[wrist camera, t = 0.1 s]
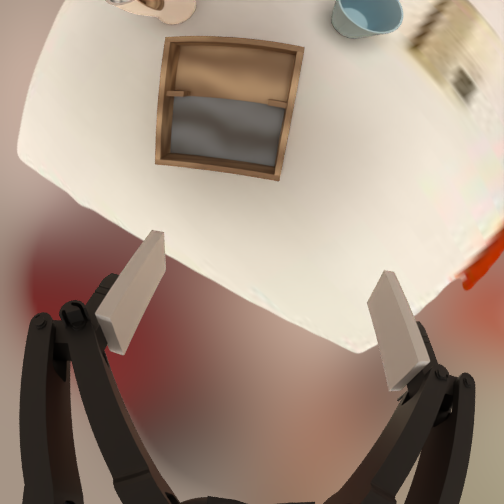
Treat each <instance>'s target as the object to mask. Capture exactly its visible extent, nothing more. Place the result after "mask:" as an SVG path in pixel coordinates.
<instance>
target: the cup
mask: <svg viewBox="0 0 504 504" xmlns="http://www.w3.org/2000/svg"><path fill="white" fill-rule="evenodd" d="M402 20H403V10H402V6H401V4H400V2H399V0H336V3H335V6H334V10H333V13H332V24H333V26H334V28H335V29H336V30H337V31H338V32H339V33H340V34H341V35H343V36H345V37H348V38H362V37H367V36H373V35H379V34H386V33H390V32H393V31H395V30H396V29H398V28H399V26H400V25H401V23H402Z"/></svg>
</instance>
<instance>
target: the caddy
mask: <svg viewBox="0 0 504 504" xmlns="http://www.w3.org/2000/svg"><path fill="white" fill-rule="evenodd" d="M304 48H305V47H300V46H295V45H290V44H284V43H278V42H271V41H264V40H256V39H246V38H234V37H215V36H179V37H165V44H164V51H163V58H162V66H161V75H160V85H159V96H158V108H157V125H156V149H155V164H158V165H168V166H178V167H187V168H195V169H203V170H211V171H218V172H226V173H232V174H239V175H245V176H251V177H257V178H263V179H269V180H275V181H279V180H280V175H281V170H282V164H283V159H284V154H285V149H286V144H287V139H288V134H289V129H290V123H291V118H292V113H293V108H294V102H295V97H296V92H297V86H298V81H299V75H300V70H301V65H302V59H303V53H304Z"/></svg>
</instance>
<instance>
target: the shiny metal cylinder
mask: <svg viewBox="0 0 504 504" xmlns="http://www.w3.org/2000/svg"><path fill="white" fill-rule="evenodd" d="M105 1H106V2H107V3H109V4H111V5H114V6H116V7H118V8H120V9H122V10H124V11H127V12H130V13H133V14H137V15H143V16H154V17H158V19H159V20H160V21H162V22H163V23H165V24H169V25H175V24H179V23H182V22H184V21H186V20H187V19H189V18H190V17H191V16H192V14H193V13H194V11H195V8H196V1H195V0H105Z"/></svg>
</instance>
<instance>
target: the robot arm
mask: <svg viewBox="0 0 504 504" xmlns="http://www.w3.org/2000/svg"><path fill="white" fill-rule="evenodd" d="M165 265H166V263H165V245H164V232H160V231H154V230H152V231H151V232H150V233H149V235H148V236H147V237H146V239H145V240H144V241H143V243H142V244H141V246H140V247H139V248H138V250H137V251H136V252H135V254H134V255H133V257H132V258H131V259H130V261H129V262H128V264H127V265H126V267H125V268H124V270H123V271H122V272H121V274H120V275H117V274H113V273H111V274H110V275H108V276H107V277H105V278H104V279H103V280H102V282H101V283H100V285H99V287H98V288H97V289H96V290H95V293H93V295H92V297H91V298H90V299H89V301H88V302H87V304H86V305H84V303H82V302H81V301H77V300H73V301H69V302H67V303H65V304H64V305H63V306H62V307H61V309H60V312H59V316H60V318H61V320H62V321H61V320H53V319H52V318H51V316H50V315H49V314H48V313H44V312H43V313H38V314H37V315H35V316H34V317H33V318H32V320H31V322H30V325H29V330H28V335H27V341H26V347H25V354H24V360H23V369H22V378H21V391H20V415H19V418H20V419H19V420H20V423H19V424H20V448H21V461H22V470H23V477H24V484H25V486H24V493H23V502H22V504H84V502H83V493H82V487H81V483H80V477H79V472H78V467H77V461H76V455H75V447H74V439H73V430H72V419H71V401H70V361H72V364H73V369H74V373H75V377H76V381H77V384H78V388H79V391H80V395H81V398H82V401H83V405H84V408H85V411H86V414H87V416H88V420H89V423H90V425H91V428H92V431H93V433H94V436H95V438H96V441H97V443H98V446H99V448H100V451H101V453H102V455H103V457H104V460H105V462H106V464H107V466H108V468H109V470H110V472H111V475H112V477H113V485H114V488H115V490H116V492H117V494H118V496H119V498H120V500H121V502H122V503H123V504H246V503H243V502H240V501H237V500H232V499H224V498H218V497H211V496H208V497H201V498H194V499H190V500H187V501H184V502H181V503H180V502H179V500H178V499H177V497H176V496H175V495H174V493H173V491H172V490H171V488H170V487H169V486H168V484H167V483H166V481H165V480H164V479H163V478H162V476H161V474H160V473H159V471H158V469H157V468H156V466H155V464H154V463H153V461H152V459H151V457H150V455H149V454H148V452H147V450H146V448H145V446H144V444H143V443H142V440H141V438H140V436H139V434H138V432H137V430H136V429H135V426H134V424H133V422H132V420H131V418H130V415H129V413H128V411H127V409H126V407H125V404H124V402H123V399H122V397H121V394H120V392H119V390H118V387H117V384H116V382H115V379H114V377H113V374H112V371H111V368H110V365H109V363H108V360H107V356H106V353H105V351H104V350H105V348H106V346H107V345H108V347H109V349H110V351H112V352H115V353H118V354H121V355H124V354H125V352H126V350H127V348H128V345H129V343H130V341H131V339H132V337H133V335H134V332H135V330H136V328H137V326H138V324H139V322H140V320H141V318H142V316H143V314H144V312H145V310H146V307H147V305H148V303H149V302H150V299H151V298H152V296H153V294H154V292H155V290H156V288H157V286H158V284H159V282H160V280H161V278H162V276H163V274H164V272H165V271H166V266H165ZM367 305H368V308H369V311H370V315H371V318H372V322H373V326H374V329H375V333H376V337H377V341H378V345H379V349H380V353H381V357H382V361H383V366H384V370H385V374H386V379H387V384H388V389H389V391H400V390H402V389H403V388H404V387H405V386H406V385H407V388H408V391H406V392H405V393H404V394H403V395H402V396H401V397H399V398H398V400H397V401H399V400H400V399H401V401H400V403H399V405H398V407H397V408H396V410H395V412H394V414H393V415H392V417H391V419H390V421H389V422H388V424H387V426H386V427H385V429H384V430H383V432H382V434H381V435H380V437H379V438H378V440H377V441H376V443H375V444H374V446H373V447H372V449H371V450H370V452H369V453H368V454H367V456H366V457H365V459H364V460H363V461H362V463H361V464H360V465H359V467H358V468H357V469H356V471H355V472H354V473H353V474H352V476H351V477H350V478H349V479H348V481H347V482H346V483H345V484H344V486H343V487H342V488H341V489H340V490H339V491H338V492H337V493H335V494H334V495H332V496H331V497H330V498H328V499H327V500H326V502H324V503H323V504H396V500H395V496H396V494H397V492H398V491H399V489H400V487H401V486H402V484H403V483H404V481H405V479H406V477H407V476H408V474H409V472H410V471H411V468H412V467H413V465H414V463H415V461H416V460H417V457H418V456H419V454H420V452H421V454H420V458H419V461H418V465H417V469H416V472H415V475H414V478H413V481H412V484H411V487H410V490H409V492H408V495H407V498H406V500H405V503H404V504H459V502H460V498H461V495H462V491H463V487H464V483H465V478H466V473H467V469H468V463H469V458H470V451H471V444H472V436H473V426H474V412H475V381H474V379H473V377H471V375H470V374H468V373H462V374H461V375H460V376H459V377H454V376H451V375H449V373H448V371H447V369H446V368H445V367H444V366H442V365H440V364H438V363H437V360H436V357H435V354H434V351H433V348H432V346H431V343H430V341H429V338H428V335H427V333H426V330H425V328H424V327H423V326H422V325H421V323H420V322H417V321H415V318H414V316H413V313H412V311H411V308H410V306H409V304H408V301H407V299H406V297H405V294H404V292H403V290H402V288H401V286H400V283H399V281H398V279H397V277H396V275H395V273H394V272H391V271H386V270H384V271H383V273H382V275H381V277H380V279H379V281H378V283H377V285H376V287H375V289H374V291H373V292H372V294H371V296H370V298H369V300H368V302H367ZM451 409H452V412H451ZM280 504H315V502H304V503H303V502H301V503H280Z"/></svg>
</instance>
